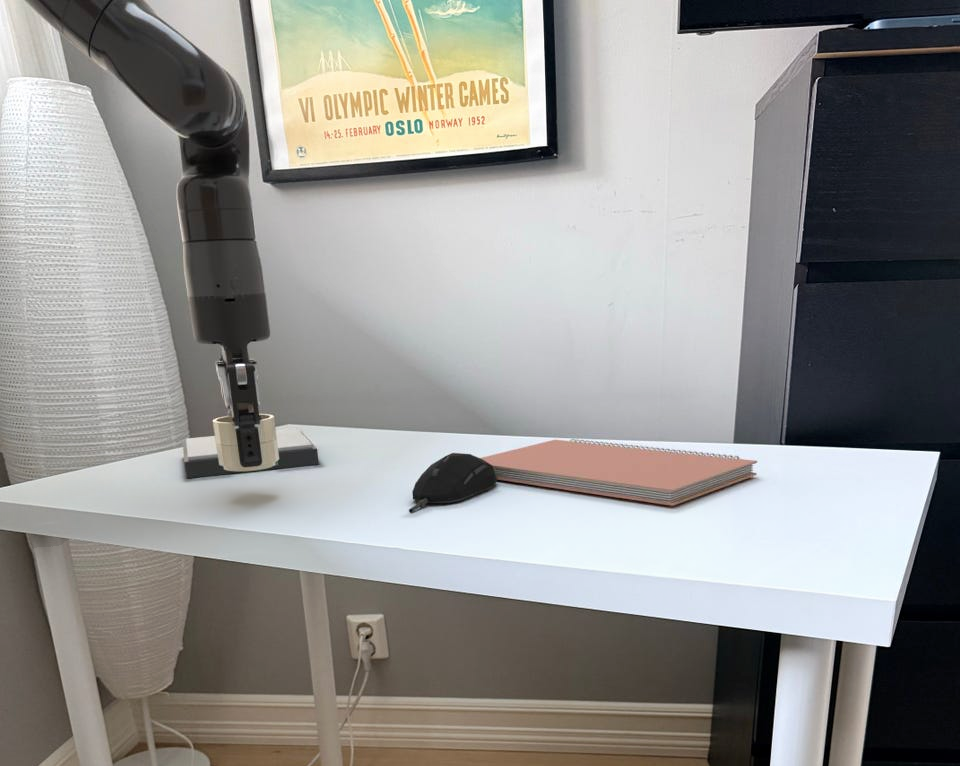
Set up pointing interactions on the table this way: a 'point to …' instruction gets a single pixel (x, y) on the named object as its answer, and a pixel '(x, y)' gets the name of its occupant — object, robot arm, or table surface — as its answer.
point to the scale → (205, 463)
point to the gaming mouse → (453, 480)
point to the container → (229, 447)
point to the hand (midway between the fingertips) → (248, 459)
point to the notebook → (620, 470)
